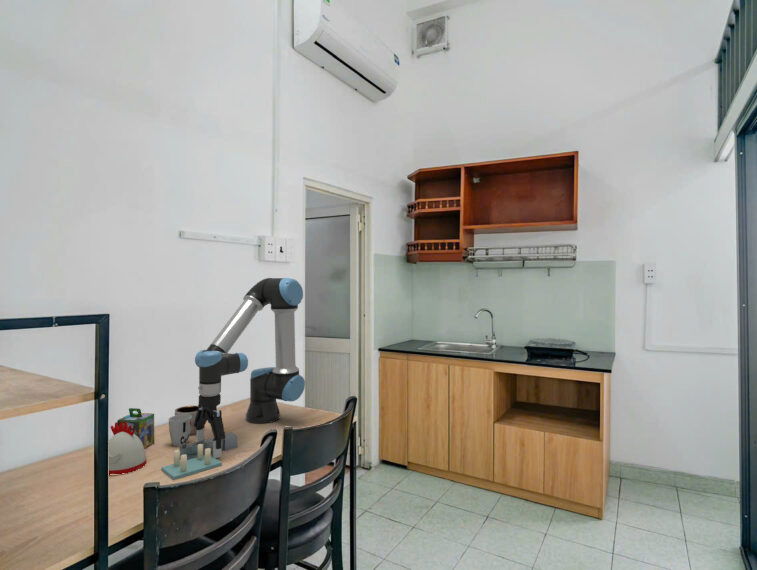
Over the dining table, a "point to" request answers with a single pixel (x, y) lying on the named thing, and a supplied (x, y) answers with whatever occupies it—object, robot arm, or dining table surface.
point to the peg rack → (191, 464)
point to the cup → (180, 429)
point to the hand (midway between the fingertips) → (208, 452)
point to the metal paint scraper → (208, 446)
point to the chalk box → (140, 425)
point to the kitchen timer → (125, 450)
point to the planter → (188, 411)
